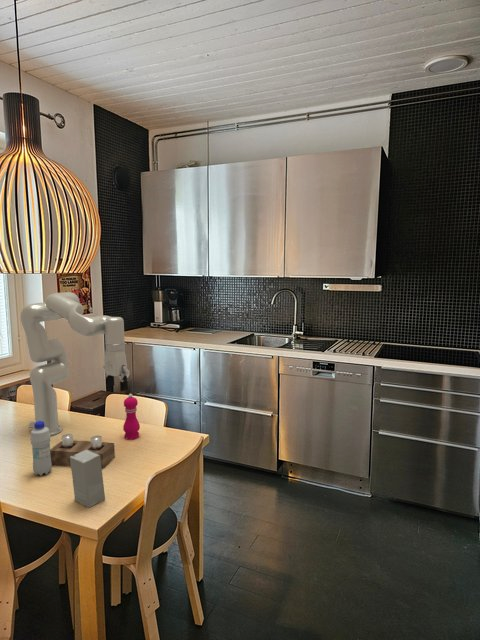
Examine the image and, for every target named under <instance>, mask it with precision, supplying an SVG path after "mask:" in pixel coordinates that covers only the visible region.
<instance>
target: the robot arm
mask: <svg viewBox="0 0 480 640" xmlns="http://www.w3.org/2000/svg"><path fill="white" fill-rule="evenodd" d="M84 311H85V309H84V306H83V305H82V303H81V302H80V298H79V297H78V295H77V294H76V293H74V292H71V291H70V292H69V291H67V292H66V291H65V292H54V293H51V294H48V295H47V296H46V298H45V300H44V302H36V303H35V302H34V303H30V304H27V305H25V306H23V308H22V309H21V312H20V322H21V325H22V328H23V331H24V334H25V338H26V343H27V348H28V354H29V357H30V360H31V361H32V362H33V363H35V364H36V363H37V364H38V363H43V362H44V364H41V365H38V366H36V367H34V368H33V369H32V370H31V371H30V373H29V381H30V384H31V389H32V393H33V394H32V395H33V407H34V421H35V422H34V421H30V422H29V423H28V428H30V429H35V427H34V424H35V423H36V422H38V421H43V422H44V424H45V427H47V428H48V429H49V432H50V436H51V437H52V436H56V435H57V434H60V433H61V432H62V431H63V427H62V426H61V425H59V414H58V398H57V391H56V390H55V389H54V388H53V386H52V385H54V384H57V383H60V382H62V381H65V380H67V378H68V377H69V375H70V366H69V363H68V362H69V361H68V357H67V351H66V347H65V345H64V343H63V342H62V341H61V340H60V339H59V338H58V339H57V338H50V339H49V338H48V333H47V330H46V328H45V327H44V326H43V324H42V323H43V322H50V321H56V320H57V321H58V320H60V319H65V320H67V322H68V324H69V327H70V328H71V330H73V331H75V332H77V334H81V335H82V336H85V337H94V336H98V335H99V336H100V335H104V341H105V342H104V344H105V351H104V365H103V369H104V374H105V378H106V379H105V380H106V387H107V388H111V387H114V386H115V378H119V380H120V382H119V387H120V388H119V390H120V392H125V391H128V390H129V386H128V385H129V383H128V381H129V378H130V374H131V371H130V370H129V369H128V364H127V363H128V362H127V355H126V352H125V351H126V344H125V343H126V342H125V340H126V339H125V326H124V325H125V322H124V321H125V320H124V319H123V317H121V316H109V315H97V316H90V317H87V316H84ZM48 361H49V362H50V361H51V362H50V363H46V362H48ZM45 363H46V364H45Z"/></svg>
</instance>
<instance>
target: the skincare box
mask: <svg viewBox="0 0 480 640" xmlns="http://www.w3.org/2000/svg"><path fill="white" fill-rule="evenodd" d="M70 463H71V467H70V470H71V478H72V485H73V486H72V487H73V493H74V494H73V495H74V501H75V502H78V503H79V504H81V505H83V506H84V507H87V508H91V507H93V506H95V505H97V504H98V503H101V502H104V501H105V500H106V496H105V494H106V493H105V487H104V478H103V469H102V468H101V459H100V455H98V454H96V453H94V452H91V451H89V450H85V451H82V452H80V453H78V454H75V455H73V456H71V457H70Z"/></svg>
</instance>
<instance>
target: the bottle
mask: <svg viewBox="0 0 480 640" xmlns="http://www.w3.org/2000/svg"><path fill="white" fill-rule="evenodd" d="M34 427H35V429H34V428H32V430H31V431H30V444H31V450H32V470H33V473H34V475H35V476H37V475H38V476H40V477H42V476H43V474H44V475H46V474H47V475H49V473H51V471H52V468H53V467H52V466H53V465H52V463H51V456H50V449H51V444H50V443H51V437H52V436H50V432H49V429H48V428H47V427H45V424H44V422H43V421H38V422H36V423H35V424H34ZM48 472H49V473H48Z"/></svg>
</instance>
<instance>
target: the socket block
mask: <svg viewBox="0 0 480 640" xmlns="http://www.w3.org/2000/svg"><path fill="white" fill-rule="evenodd" d="M85 450H89V451H91V452H94V453H96V454H98V455H100V459H101V468H102V470H105V468H106V467H107V466H108V465H109V464H110V463H111V462H112V461H113V460H114V459H115V457H116V455H115V454H116V453H115V452H116V451H115V450H116V449H115V442H107V441H102V449H101V450H100V451H97V450H91V440H90V441H89V440H88V441H87V440H74V439H73V447H72V448H71V449H66V448H63V447H62V440H61V441H59V442H58V443H57V444H56V445H54V446H53V447H50V456H51V463H52V466H54V465H56V467H57V466H59V467H69V468H71V463H70V457H71V456H73V455H75V454H78V453H80V452H82V451H85Z"/></svg>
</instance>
